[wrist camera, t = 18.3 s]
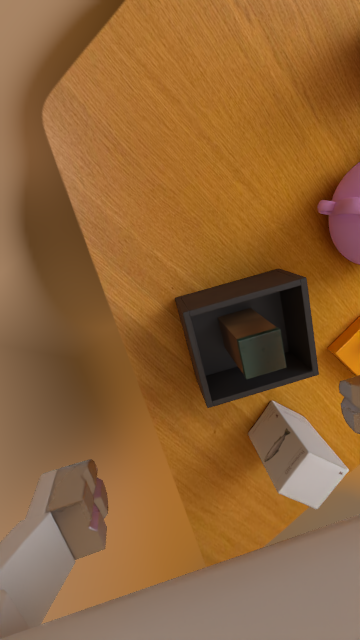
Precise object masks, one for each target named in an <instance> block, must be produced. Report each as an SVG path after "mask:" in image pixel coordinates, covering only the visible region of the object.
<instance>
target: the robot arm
mask: <svg viewBox="0 0 360 640" xmlns="http://www.w3.org/2000/svg"><path fill="white" fill-rule="evenodd" d="M339 390H340V393H341V394H342V395H343V396H344V399H343V401H342V403H341V409H342V414H343V416H344V419H345V421H346V423H347V424H348V425H349V427H350V428H351V429H352V430H353V431H354V432H355V433H358V434H360V375H358V376H355V377H352V378H349V379H346V380H343V381H340V384H339ZM97 471H98V469H97V466H96V464H95V462H94V461H93V460H92V459H90V460H87V461H83V462H80V463H76V464H73V465H69V466H66V467H63V468H60V469H56V470H53V471H49V472H46V473H43V474H42V475H41V476H40V478H39V481H38V484H37V487H36V490H35V493H34V496H33V498H32V501H31V504H30V507H29V510H28V513H27V516H26V518H25V520H23V521H20V522H19V523H18V524H17V525H16V526H15V527H14V528H13V530H11V531H10V533H9V534H8V535H7V536H6V537H5V538H4V539H3V540H2V541H1V542H0V640H360V514H359V515H356V516H353V517H350V518H347V519H344V520H341V521H339V522H336V523H333V524H330V525H327V526H324V527H321V528H318V529H316V530H313V531H310V532H307V533H304V534H301V535H298V536H295V537H292V538H289V539H287V540H284V541H281V542H278V543H275V544H272V545H269V546H266V547H263V548H260V549H258V550H255V551H252V552H249V553H246V554H243V555H240V556H237V557H235V558H232V559H229V560H226V561H223V562H220V563H217V564H214V565H211V566H209V567H206V568H203V569H200V570H197V571H194V572H191V573H188V574H185V575H183V576H180V577H177V578H174V579H171V580H168V581H166V582H162V583H159V584H157V585H154V586H151V587H148V588H145V589H142V590H140V591H136V592H134V593H130V594H128V595H125V596H122V597H119V598H116V599H113V600H110V601H108V602H105V603H102V604H99V605H96V606H93V607H90V608H87V609H85V610H81V611H79V612H76V613H73V614H70V615H67V616H64V617H61V618H59V619H55V620H53V621H50V622H47V623H44V624H41V623H42V621H43V619H44V617H45V616H46V614H47V612H48V610H49V608H50V607H51V604H52V603H53V601H54V600H55V597H56V596H57V594H58V592H59V591H60V589H61V587H62V585H63V583H64V582H65V580H66V578H67V576H68V574H69V572H70V571H71V569H72V567H73V565H74V564H75V560H76V559H79V558H82V557H85V556H87V555H90V554H93V553H96V552H98V551H101V550H104V549H105V545H106V531H107V526H106V524H105V522H104V518H105V517H106V515H107V514H108V498H107V492H106V489H105V485H104V483H103V481H102V480H101V479H99V478H97Z"/></svg>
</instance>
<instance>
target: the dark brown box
mask: <svg viewBox="0 0 360 640" xmlns="http://www.w3.org/2000/svg"><path fill="white" fill-rule="evenodd" d="M175 301H176V305H177V308H178V312H179V316H180V320H181V323H182V327H183V331H184V334H185V338H186V342H187V346H188V349H189V353H190V357H191V361H192V364H193V368H194V372H195V376H196V379H197V382H198V385H199V387H200V390H201V392H202V395H203V398H204V400H205V403H206V405H207V408H209V407H213V406H216V405H220V404H223V403H226V402H230V401H233V400H236V399H240V398H243V397H246V396H249V395H253V394H256V393H259V392H263V391H266V390H269V389H273V388H276V387H279V386H283V385H286V384H289V383H293V382H296V381H299V380H303V379H306V378H309V377H313V376H316V375H319V372H318V364H317V356H316V349H315V341H314V333H313V325H312V318H311V310H310V302H309V294H308V286H307V279H306V277H303V276H300V275H297V274H294V273H291V272H288V271H285V270H282V269H276V270H272V271H269V272H265V273H262V274H258V275H254V276H251V277H247V278H244V279H240V280H237V281H233V282H230V283H226V284H223V285H219V286H216V287H212V288H208V289H205V290H201V291H198V292H194V293H191V294H187V295H184V296H180V297H177V298H175ZM248 308H252V309H253V310H254V311H256V312H257V313H258V314H260V315H261V316H262V317H264V318H265V319H266V320H268V321H269V322H270V323H272V324H273V325H274V326H276V327H278V328H279V329H280V331H281V337H282V344H283V350H284V356H285V362H286V368H283V369H280V370H276V371H273V372H270V373H266V374H263V375H260V376H256V377H253V378H250V379H246V378H245V377H244V375H243V373H242V372H241V370H240V369H239V367H238V366H237V365H236V363H235V362H234V360H233V359H232V358H231V356H230V355H229V353H228V352H227V350H226V349H225V347H224V343H223V338H222V334H221V329H220V325H219V321H218V317H220V316H224V315H227V314H230V313H234V312H237V311H241V310H244V309H248Z"/></svg>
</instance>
